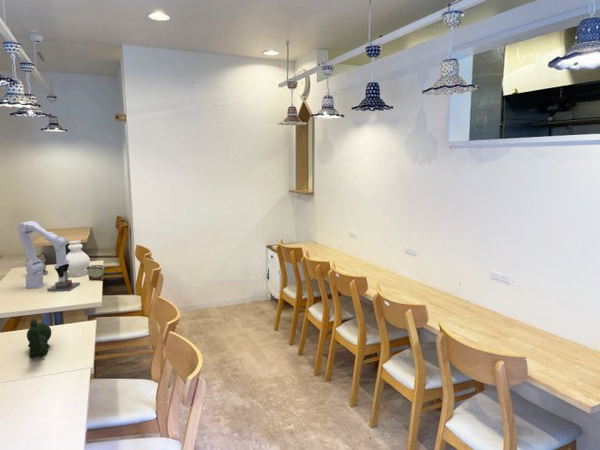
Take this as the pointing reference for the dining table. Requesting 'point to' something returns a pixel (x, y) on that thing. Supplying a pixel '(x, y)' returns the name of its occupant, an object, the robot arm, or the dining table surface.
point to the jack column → (64, 278)
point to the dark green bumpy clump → (38, 338)
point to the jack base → (63, 286)
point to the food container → (95, 272)
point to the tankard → (42, 262)
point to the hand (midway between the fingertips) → (63, 276)
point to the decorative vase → (77, 259)
